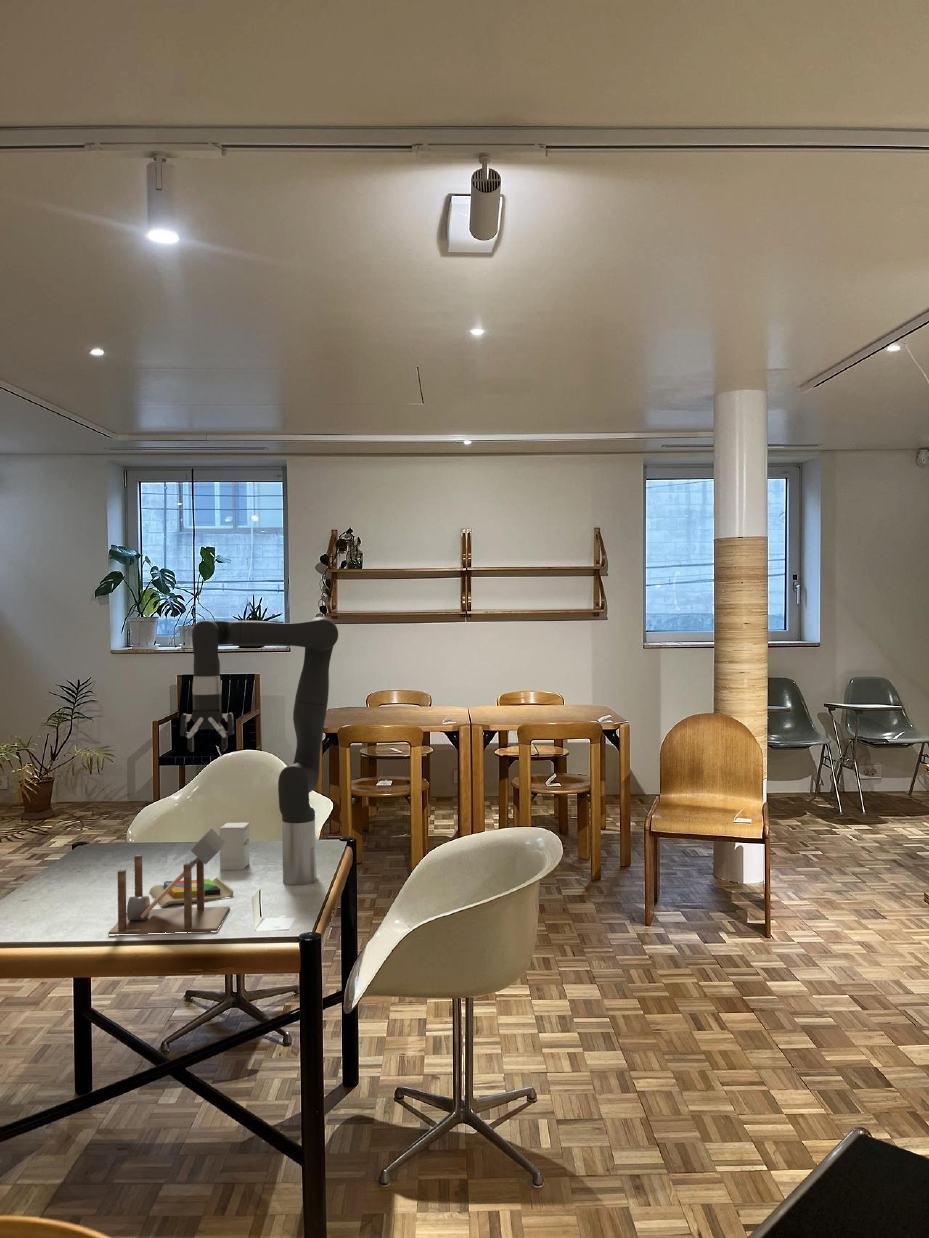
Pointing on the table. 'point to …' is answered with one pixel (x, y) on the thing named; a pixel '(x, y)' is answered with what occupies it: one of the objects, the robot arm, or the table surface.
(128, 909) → the stubby grey cylinder
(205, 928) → the trapdoor stand
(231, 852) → the supplement box
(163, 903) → the wooden puzzle
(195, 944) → the table surface
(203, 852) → the trapdoor
